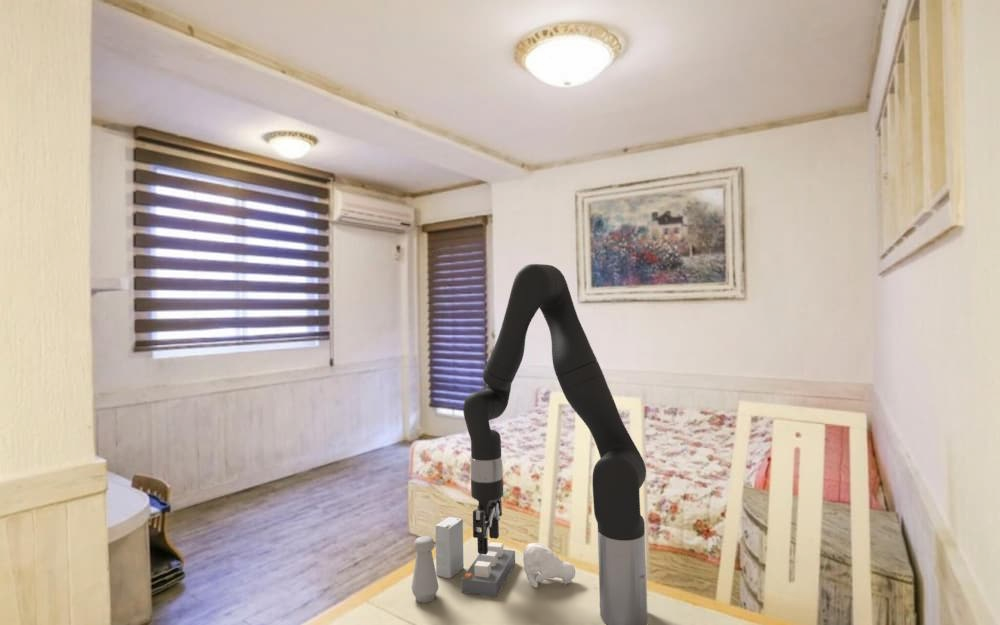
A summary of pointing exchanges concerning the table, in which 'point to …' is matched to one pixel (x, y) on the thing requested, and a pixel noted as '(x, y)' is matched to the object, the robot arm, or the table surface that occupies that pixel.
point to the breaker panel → (493, 579)
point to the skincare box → (449, 547)
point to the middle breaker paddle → (490, 558)
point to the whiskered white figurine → (545, 565)
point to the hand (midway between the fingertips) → (488, 545)
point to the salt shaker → (424, 571)
